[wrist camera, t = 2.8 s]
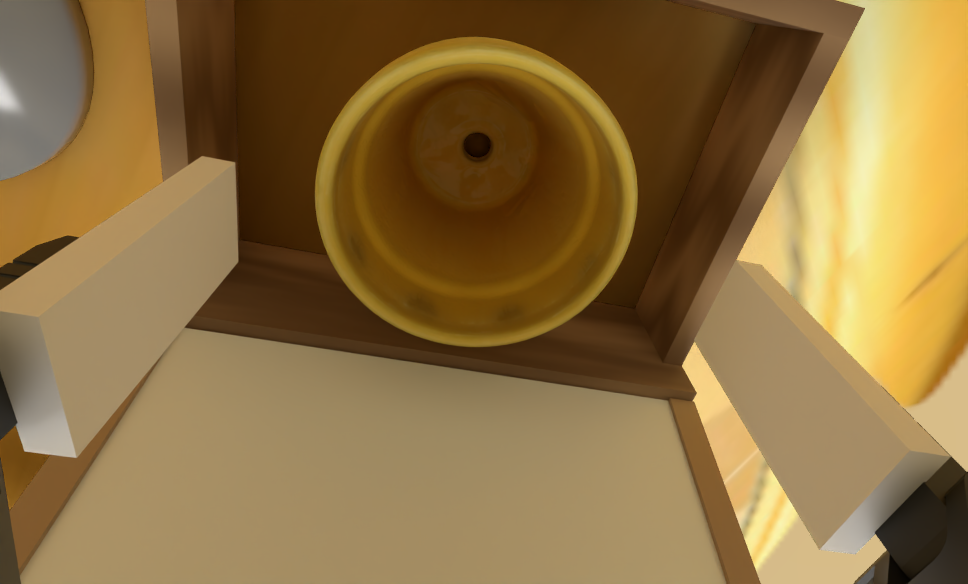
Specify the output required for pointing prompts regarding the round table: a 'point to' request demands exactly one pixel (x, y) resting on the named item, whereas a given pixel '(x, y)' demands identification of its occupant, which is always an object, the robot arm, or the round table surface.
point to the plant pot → (476, 193)
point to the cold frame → (599, 326)
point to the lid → (377, 479)
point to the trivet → (41, 81)
